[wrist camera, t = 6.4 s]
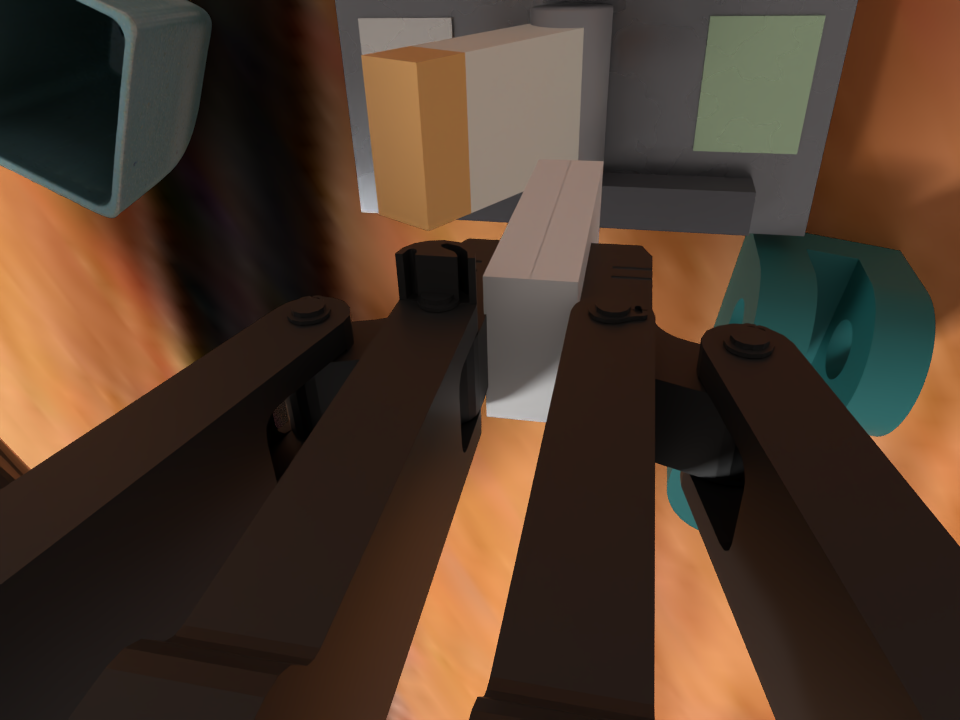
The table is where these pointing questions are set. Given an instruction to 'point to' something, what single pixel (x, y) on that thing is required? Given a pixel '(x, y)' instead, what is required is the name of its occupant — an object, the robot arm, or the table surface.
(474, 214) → the dark grey rectangular piece
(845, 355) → the bracket
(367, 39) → the breaker panel
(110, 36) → the flower pot
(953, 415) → the table surface
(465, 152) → the breaker lever
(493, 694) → the robot arm
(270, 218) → the table surface
